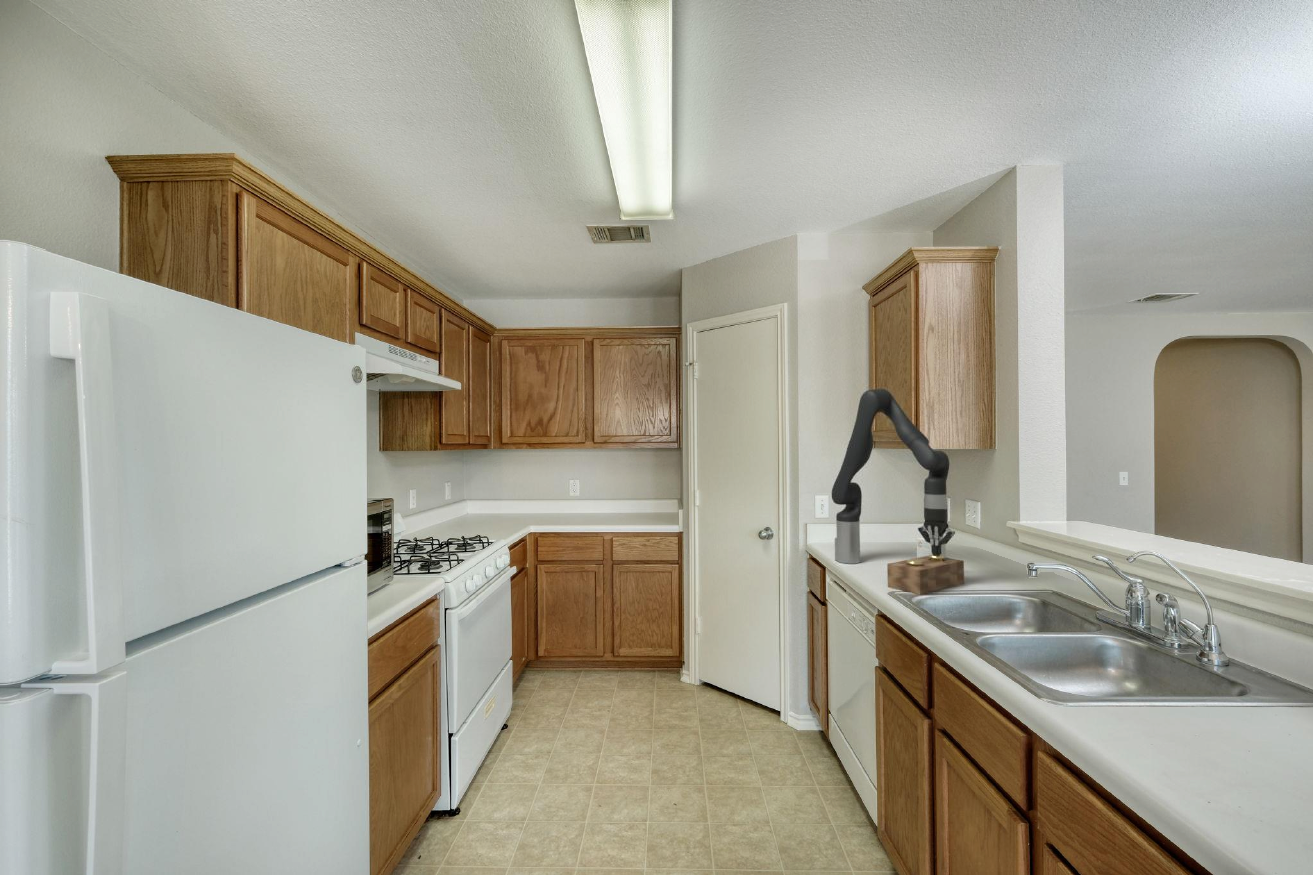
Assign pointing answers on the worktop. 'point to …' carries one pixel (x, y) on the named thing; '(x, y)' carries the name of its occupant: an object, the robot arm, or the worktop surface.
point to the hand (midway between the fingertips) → (936, 555)
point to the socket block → (925, 575)
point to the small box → (927, 548)
